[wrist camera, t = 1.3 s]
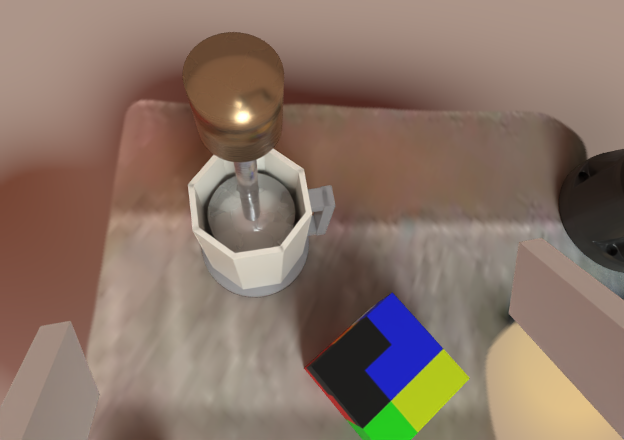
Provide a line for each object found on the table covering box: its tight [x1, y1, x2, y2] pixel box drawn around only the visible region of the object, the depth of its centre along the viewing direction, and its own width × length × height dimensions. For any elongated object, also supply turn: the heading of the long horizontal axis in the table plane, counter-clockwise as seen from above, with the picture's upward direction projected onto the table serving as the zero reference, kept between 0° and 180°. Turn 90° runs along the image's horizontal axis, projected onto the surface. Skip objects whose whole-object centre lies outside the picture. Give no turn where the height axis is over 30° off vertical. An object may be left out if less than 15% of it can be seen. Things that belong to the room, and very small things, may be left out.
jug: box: [188, 149, 335, 298], centre depth 47 cm, size 14×12×15 cm
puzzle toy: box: [304, 292, 470, 440], centre depth 46 cm, size 10×10×10 cm
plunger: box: [183, 32, 295, 253], centre depth 34 cm, size 8×8×22 cm
